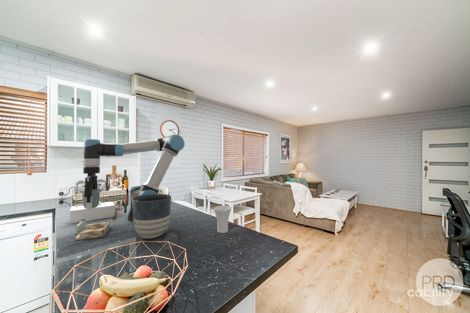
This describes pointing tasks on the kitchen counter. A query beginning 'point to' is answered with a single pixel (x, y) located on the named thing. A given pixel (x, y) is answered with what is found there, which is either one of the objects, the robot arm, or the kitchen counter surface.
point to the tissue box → (92, 212)
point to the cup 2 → (222, 218)
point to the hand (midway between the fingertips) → (91, 206)
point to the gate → (80, 226)
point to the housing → (94, 231)
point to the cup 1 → (94, 198)
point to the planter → (151, 214)
